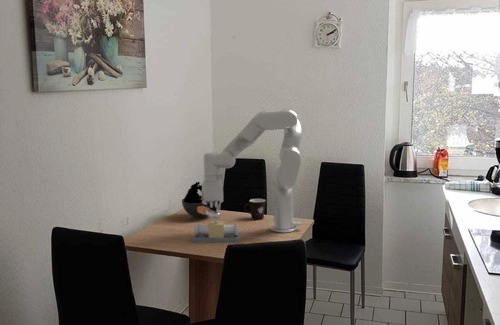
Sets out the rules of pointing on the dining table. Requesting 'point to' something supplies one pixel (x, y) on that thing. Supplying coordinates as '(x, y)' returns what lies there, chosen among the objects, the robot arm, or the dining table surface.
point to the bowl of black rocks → (194, 201)
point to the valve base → (226, 239)
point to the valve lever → (208, 212)
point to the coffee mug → (256, 208)
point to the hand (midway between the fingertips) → (213, 214)
